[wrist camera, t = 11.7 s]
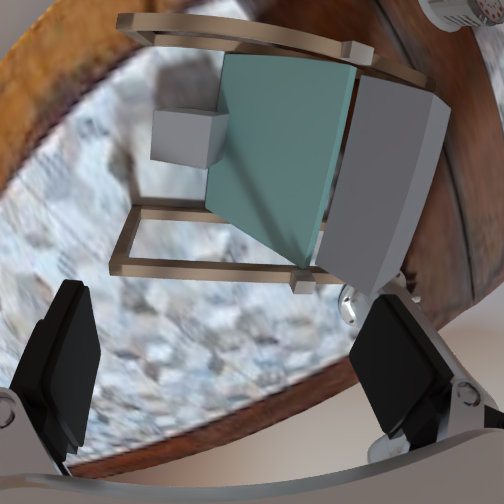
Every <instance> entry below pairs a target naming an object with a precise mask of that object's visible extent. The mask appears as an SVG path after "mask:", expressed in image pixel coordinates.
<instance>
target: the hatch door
mask: <svg viewBox="0 0 504 504" xmlns="http://www.w3.org/2000/svg"><path fill="white" fill-rule="evenodd" d="M356 70H357V68H356V67H354V66H351V65H347V64H341V63H334V62H327V61H320V60H312V59H303V58H293V57H281V56H266V55H241V54H225V59H224V66H223V72H222V78H221V85H220V91H219V98H218V105H217V112H220V113H227V114H229V121H228V128H227V134H226V142H225V149H224V156H223V160H221V161H219V162H218V163H216V164H214V165H212V166H211V167H209V174H208V183H207V192H206V201H205V208H206V209H208V210H210V211H211V212H213V213H214V214H216V215H218V216H219V217H221V218H222V219H224V220H226V221H227V222H229V223H230V224H232V225H234V226H235V227H237V228H238V229H240V230H242V231H243V232H245V233H246V234H248V235H250V236H251V237H253V238H254V239H256V240H257V241H259V242H261V243H262V244H264V245H265V246H267V247H269V248H270V249H272V250H273V251H275V252H277V253H278V254H280V255H281V256H283V257H284V258H286V259H288V260H289V261H291V262H292V263H294V264H295V265H297V266H299V267H300V268H302V269H304V268H306V267H308V266H309V265H310V262H311V258H312V255H313V251H314V248H315V244H316V241H317V237H318V233H319V230H320V226H321V222H322V218H323V215H324V211H325V207H326V203H327V199H328V195H329V191H330V187H331V183H332V179H333V175H334V171H335V167H336V163H337V159H338V154H339V150H340V146H341V141H342V137H343V133H344V128H345V124H346V119H347V114H348V110H349V105H350V100H351V95H352V90H353V85H354V80H355V75H356ZM450 112H451V108H450V107H449V106H447V105H446V104H445V103H444V102H443V101H442V100H441V99H439V98H438V97H437V96H436V95H435V94H433V93H430V92H427V91H423V90H420V89H417V88H413V87H409V86H406V85H402V84H398V83H394V82H390V81H386V80H382V79H378V78H373V77H369V76H364V75H361V79H360V84H359V89H358V94H357V99H356V103H355V108H354V113H353V117H352V122H351V127H350V131H349V135H348V140H347V144H346V148H345V153H344V157H343V161H342V165H341V169H340V173H339V177H338V181H337V185H336V189H335V193H334V197H333V201H332V204H331V208H330V212H329V216H328V219H327V223H326V227H325V230H324V234H323V237H322V241H321V244H320V248H319V251H318V255H317V258H316V262H315V265H317V266H319V267H320V268H322V269H324V270H325V271H327V272H329V273H330V274H332V275H333V276H335V277H337V278H338V279H340V280H341V281H343V282H345V283H346V284H348V285H349V286H351V287H353V288H354V289H356V290H358V291H359V292H361V293H362V294H364V295H366V296H367V297H370V296H372V295H373V294H374V293H375V292H376V291H378V290H379V289H380V288H381V287H383V286H384V285H385V284H386V283H387V282H389V281H390V280H391V279H392V278H393V277H395V276H396V275H397V274H398V272H399V270H400V267H401V265H402V263H403V260H404V258H405V255H406V253H407V250H408V248H409V245H410V243H411V240H412V237H413V235H414V232H415V230H416V227H417V224H418V221H419V219H420V216H421V213H422V210H423V207H424V204H425V201H426V198H427V195H428V192H429V189H430V186H431V183H432V180H433V176H434V173H435V170H436V166H437V163H438V159H439V156H440V152H441V148H442V145H443V141H444V137H445V133H446V129H447V125H448V121H449V116H450Z"/></svg>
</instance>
